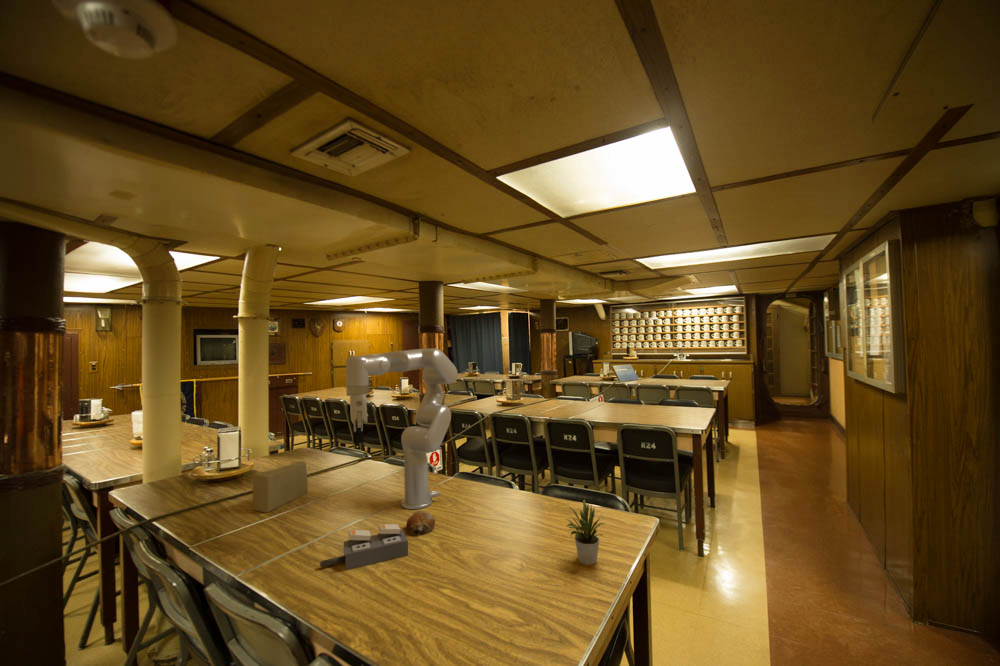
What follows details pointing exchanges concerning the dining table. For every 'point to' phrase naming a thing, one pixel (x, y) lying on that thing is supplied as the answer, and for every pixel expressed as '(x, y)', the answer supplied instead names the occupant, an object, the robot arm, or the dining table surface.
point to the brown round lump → (420, 523)
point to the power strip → (371, 550)
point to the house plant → (586, 535)
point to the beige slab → (279, 486)
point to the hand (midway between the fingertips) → (358, 442)
